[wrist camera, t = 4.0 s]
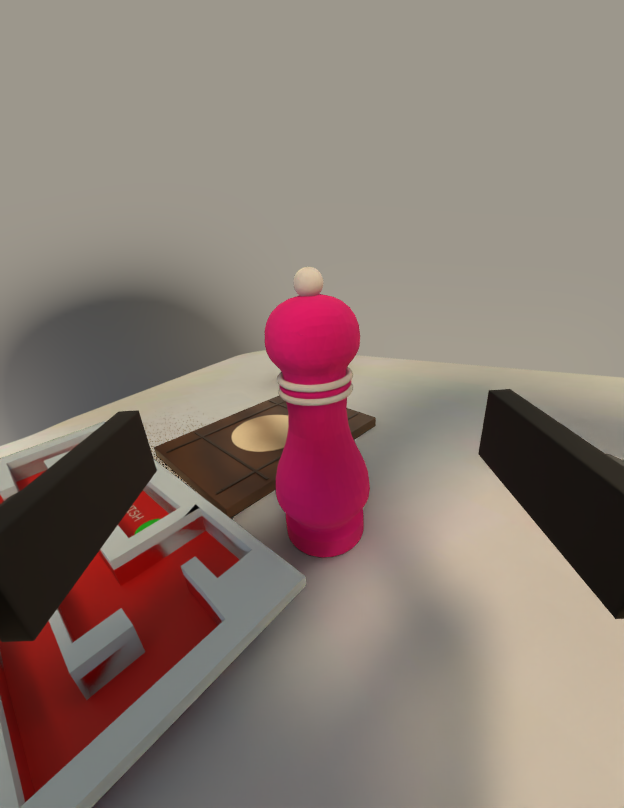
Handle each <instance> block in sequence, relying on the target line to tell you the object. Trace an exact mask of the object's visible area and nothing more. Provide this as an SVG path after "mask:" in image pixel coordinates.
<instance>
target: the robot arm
mask: <svg viewBox="0 0 624 808" xmlns="http://www.w3.org/2000/svg"><path fill="white" fill-rule="evenodd" d="M478 454H479V455H480V457H481V458H482V459H483V460H484V461H485V463H486V464H487V465H488V466H489V467H490V469H491V470H492V471H493V472H494V473H495V475H496V476H497V477H498V478H499V479H500V481H501V482H502V483H503V484H504V485H505V487H506V488H507V489H508V490H509V491H510V493H511V494H512V495H513V496H514V497H515V499H516V500H517V501H518V502H519V503H520V505H521V506H522V507H523V508H524V509H525V511H526V512H527V513H528V514H529V515H530V517H531V518H532V519H533V520H534V521H535V523H536V524H537V525H538V526H539V527H540V529H541V530H542V531H543V532H544V533H545V535H546V536H547V537H548V538H549V539H550V541H551V542H552V543H553V544H554V545H555V547H556V548H557V549H558V550H559V551H560V553H561V554H562V555H563V556H564V557H565V559H566V560H567V561H568V562H569V564H570V565H571V566H572V567H573V568H574V570H575V571H576V572H577V573H578V574H579V576H580V577H581V578H582V579H583V580H584V582H585V583H586V584H587V585H588V586H589V588H590V589H591V590H592V591H593V592H594V594H595V595H596V596H597V597H598V598H599V600H600V601H601V602H602V603H603V604H604V606H605V607H606V608H607V609H608V610H609V612H610V613H611V614H612V615H613V616H614V618H615V619H624V461H623V460H621V459H619V458H617V457H614V456H612V455H610V454H605V453H603V452H602V451H600V450H599V449H597V448H596V447H594V446H593V445H591V444H590V443H588V442H587V441H585V440H584V439H582V438H581V437H580V436H578V435H577V434H575V433H574V432H572V431H571V430H569V429H568V428H566V427H565V426H563V425H562V424H560V423H559V422H557V421H556V420H555V419H553V418H552V417H550V416H549V415H547V414H546V413H544V412H543V411H541V410H540V409H538V408H537V407H535V406H534V405H533V404H531V403H530V402H528V401H527V400H525V399H524V398H522V397H521V396H519V395H518V394H516V393H515V392H513V391H512V390H510V389H505V390H489V393H488V399H487V405H486V411H485V417H484V423H483V429H482V435H481V441H480V447H479V453H478ZM156 471H157V469H156V466H155V463H154V459H153V456H152V453H151V450H150V446H149V443H148V440H147V437H146V433H145V430H144V427H143V423H142V420H141V417H140V414H139V411H122V412H118V413H116V414H115V415H114V416H113V417H112V418H110V419H109V420H108V421H107V422H105V423H104V424H103V425H102V426H100V427H99V428H98V429H97V430H95V431H94V432H93V433H92V434H90V435H89V436H88V437H87V438H85V439H84V440H83V441H82V442H81V443H79V444H78V445H77V446H76V447H74V448H73V449H72V450H71V451H69V452H68V453H67V454H66V455H64V456H63V457H62V458H61V459H59V460H58V461H57V462H56V463H55V464H53V465H52V466H51V467H50V468H48V469H47V470H46V471H45V472H43V473H42V474H41V475H40V476H38V477H37V478H36V479H35V480H33V481H32V482H31V483H30V484H28V485H27V486H26V487H25V488H24V489H22V490H21V491H19V492H17V493H15V494H13V495H12V496H10V497H9V498H7V499H6V500H5V501H4V502H2V503H1V504H0V640H1V642H18V641H34V640H35V639H36V637H37V636H38V635H39V633H40V632H41V631H42V629H43V628H44V626H45V625H46V624H47V622H48V621H49V619H50V618H51V617H52V615H53V614H54V613H55V611H56V610H57V608H58V607H59V606H60V604H61V603H62V601H63V600H64V599H65V597H66V596H67V595H68V593H69V592H70V590H71V589H72V588H73V586H74V585H75V584H76V582H77V581H78V579H79V578H80V577H81V575H82V574H83V572H84V571H85V570H86V568H87V567H88V566H89V564H90V563H91V561H92V560H93V559H94V557H95V556H96V554H97V553H98V552H99V550H100V549H101V548H102V546H103V545H104V543H105V542H106V541H107V539H108V538H109V536H110V535H111V534H112V532H113V531H114V530H115V528H116V527H117V525H118V524H119V523H120V521H121V520H122V518H123V517H124V516H125V514H126V513H127V512H128V510H129V509H130V507H131V506H132V505H133V503H134V502H135V500H136V499H137V498H138V496H139V495H140V494H141V492H142V491H143V489H144V488H145V487H146V485H147V484H148V483H149V481H150V480H151V478H152V477H153V476H154V474H155V473H156Z"/></svg>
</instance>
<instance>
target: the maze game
mask: <svg viewBox="0 0 624 808" xmlns="http://www.w3.org/2000/svg"><path fill="white" fill-rule="evenodd" d="M104 423H105V421H104V422H101V423H99V424H96V425H93V426H90V427H87V428H84V429H82V430H79V431H76V432H73V433H70V434H67V435H65V436H62V437H59V438H56V439H53V440H50V441H48V442H45V443H42V444H39V445H36V446H33V447H31V448H28V449H25V450H22V451H19V452H17V453H14V454H11V455H8V456H5V457H2V458H0V504H1V503H2V502H4V501H5V500H6V499H7V498H9V497H10V496H12V495H13V494H15V493H17V492H19V491H21V490H22V489H24V488H25V487H26V486H27V485H28V484H30V483H31V482H32V481H33V480H35V479H36V478H37V477H38V476H40V475H41V474H42V473H43V472H45V471H46V470H47V469H48V468H50V467H51V466H52V465H53V464H55V463H56V462H57V461H58V460H59V459H61V458H62V457H63V456H64V455H66V454H67V453H68V452H69V451H71V450H72V449H73V448H74V447H76V446H77V445H78V444H79V443H81V442H82V441H83V440H84V439H85V438H87V437H88V436H89V435H90V434H92V433H93V432H94V431H95V430H97V429H98V428H99V427H100V426H102V425H103V424H104ZM154 463H155V466H156V469H157V471H156V473H155V474H154V476H153V477H152V478H151V480H150V481H149V483H148V484H147V485H146V487H145V488H144V489H143V491H142V492H141V494H140V495H139V496H138V498H137V499H136V500H135V502H134V503H133V505H132V506H131V507H130V509H129V510H128V512H127V513H126V514H125V516H124V517H123V518H122V520H121V521H120V523H119V524H118V525H117V527H116V528H115V530H114V531H113V532H112V534H111V535H110V536H109V538H108V539H107V541H106V542H105V543H104V545H103V546H102V548H101V549H100V550H99V552H98V553H97V554H96V556H95V557H94V559H93V560H92V561H91V563H90V564H89V566H88V567H87V568H86V570H85V571H84V572H83V574H82V575H81V577H80V578H79V579H78V581H77V582H76V584H75V585H74V586H73V588H72V589H71V590H70V592H69V593H68V595H67V596H66V597H65V599H64V600H63V601H62V603H61V604H60V606H59V607H58V608H57V610H56V611H55V613H54V614H53V615H52V617H51V618H50V619H49V621H48V622H47V624H46V625H45V626H44V628H43V629H42V631H41V632H40V633H39V635H38V636H37V637H36V639H35V640H34V641H18V642H1V640H0V808H92V807H93V806H94V805H95V804H96V802H97V801H98V800H99V799H100V798H101V797H102V796H103V795H104V794H105V793H106V792H107V791H108V790H109V789H110V788H111V787H112V786H113V785H114V784H115V783H116V782H117V781H118V780H119V779H120V778H121V777H122V776H123V775H124V774H125V773H126V771H127V770H128V769H129V768H130V767H131V766H132V765H133V764H134V763H135V762H136V761H137V760H138V759H139V758H140V757H141V756H142V755H143V754H144V753H145V752H146V751H147V750H148V749H149V748H150V747H151V746H152V745H153V744H154V743H155V741H156V740H157V739H158V738H159V737H160V736H161V735H162V734H163V733H164V732H165V731H166V730H167V729H168V728H169V727H170V726H171V725H172V724H173V723H174V722H175V721H176V720H177V719H178V718H179V717H180V716H181V715H182V714H183V713H184V711H185V710H186V709H187V708H188V707H189V706H190V705H191V704H192V703H193V702H194V701H195V700H196V699H197V698H198V697H199V696H200V695H201V694H202V693H203V692H204V691H205V690H206V689H207V688H208V687H209V686H210V685H211V684H212V683H213V681H214V680H215V679H216V678H217V677H218V676H219V675H220V674H221V673H222V672H223V671H224V670H225V669H226V668H227V667H228V666H229V665H230V664H231V663H232V662H233V661H234V660H235V659H236V658H237V657H238V656H239V655H240V654H241V653H242V651H243V650H244V649H245V648H246V647H247V646H248V645H249V644H250V643H251V642H252V641H253V640H254V639H255V638H256V637H257V636H258V635H259V634H260V633H261V632H262V631H263V630H264V629H265V628H266V627H267V626H268V625H269V624H270V623H271V621H272V620H273V619H274V618H275V617H276V616H277V615H278V614H279V613H280V612H281V611H282V610H283V609H284V608H285V607H286V606H287V605H288V604H289V603H290V602H291V601H292V600H293V599H294V598H295V597H296V596H297V595H298V594H299V593H300V591H301V590H302V589H303V588H304V587H305V586H306V578H305V575H303V574H302V573H301V572H299V571H298V570H297V569H295V568H294V567H293V566H292V565H290V564H289V563H288V562H286V561H285V560H284V559H282V558H281V557H280V556H279V555H277V554H276V553H275V552H273V551H272V550H271V549H269V548H268V547H267V546H266V545H264V544H263V543H262V542H260V541H259V540H258V539H257V538H255V537H254V536H253V535H251V534H250V533H249V532H247V531H246V530H245V529H244V528H242V527H241V526H240V525H238V524H237V523H236V522H234V521H233V520H232V519H231V518H229V517H228V516H227V515H225V514H224V513H223V512H221V511H220V510H219V509H218V508H216V507H215V506H214V505H212V504H211V503H210V502H208V501H207V500H206V499H205V498H203V497H202V496H201V495H199V494H198V493H197V492H195V491H194V490H193V489H192V488H190V487H189V486H188V485H186V484H185V483H184V482H182V481H181V480H180V479H179V478H177V477H176V476H175V475H173V474H172V473H171V472H169V471H168V470H167V469H166V468H164V467H163V466H162V465H160V464H159V463H158V462H157V461H155V460H154Z"/></svg>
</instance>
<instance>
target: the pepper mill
mask: <svg viewBox="0 0 624 808" xmlns="http://www.w3.org/2000/svg"><path fill="white" fill-rule="evenodd" d="M293 284H294V288H295V291H296V292H297V293H298V294H299V295H300V296H297V297H294V298H290V299H288V300H286V301H285V302H283V303H281V304H279V305H278V306H277V307H276V308H275V309H274V310H273V311H272V313H271V314H270V316H269V318H268V320H267V323H266V327H265V347H266V352H267V354H268V356H269V358H270V359H271V361H272V362H273V363H274V364H275V365H276V366H277V367H278V368H279V369H280V370H281V371H282V372H281V373H280V374H279V375H278V377H277V381H278V383H279V385H280V388H279V395H280V397H281V398H282V399H283V400H284V401H286V403H287V408H288V433H287V439H286V443H285V446H284V449H283V452H282V455H281V458H280V461H279V464H278V467H277V473H276V495H277V500H278V502H279V505H280V506H281V508H282V509H283V511H284V512H285V513H286V523H287V531H288V536H289V538H290V540H291V542H292V543H293V544H294V546H296V547H297V548H298V549H299V550H301V551H302V552H304V553H306V554H308V555H312V556H317V557H334V556H337V555H341V554H344V553H345V552H347V551H349V550H350V549H352V548H353V547H354V546H355V545H356V544H357V543H358V542H359V540H360V539H361V536H362V533H363V507H364V505H365V504H366V502H367V500H368V497H369V490H370V486H369V477H368V471H367V467H366V464H365V461H364V459H363V457H362V455H361V453H360V451H359V449H358V448H357V446H356V444H355V442H354V439H353V437H352V435H351V431H350V428H349V424H348V417H347V409H346V406H347V397H348V396H349V395H350V394H351V392H352V390H353V385H352V383H351V379H352V377H353V373H352V371H351V369H350V368H348V367H347V366H348V365H349V363H350V362H351V361H352V359H353V358H354V357H355V355H356V353H357V351H358V349H359V344H360V331H359V325H358V322H357V319H356V317H355V315H354V313H353V312H352V310H351V309H350V307H348V306H347V305H346V304H345V303H344V302H342V301H341V300H339V299H336V298H334V297H331V296H327V295H321V294H319V293H320V292H321V290H322V288H323V278H322V275H321V274H320V272H319V271H318V270H317V269H315V268H313V267H304V268H302V269H300V270H299V271H298V272H297V273H296V275H295V277H294V282H293Z"/></svg>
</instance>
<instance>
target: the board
mask: <svg viewBox="0 0 624 808" xmlns="http://www.w3.org/2000/svg"><path fill="white" fill-rule="evenodd" d="M346 409H347V417H348V424H349V428H350V431H351V435H352V437H353V439H355V438H357V437H358V436H360V435H361V434H363V433H365V432H366V431H368V430H369V429H371V428H372V427H374V426H375V422H376V418H375V417H372V416H369V415H366V414H363V413H360V412H357V411H354V410H351V409H348V408H346ZM287 433H288V408H287V403H286V401H284V400H283V399H282V398H281V397H280V395H279V396H277V397H274V398H272V399H270V400H267V401H265V402H262V403H260V404H258V405H255V406H253V407H250V408H248V409H246V410H243V411H241V412H238V413H236V414H233V415H231V416H229V417H226V418H224V419H221V420H219V421H217V422H214V423H212V424H209V425H207V426H205V427H202V428H200V429H197V430H195V431H192V432H190V433H188V434H185V435H183V436H180V437H178V438H176V439H173V440H171V441H168V442H166V443H164V444H161V445H159V446H156V447H154V449H155V453H156V456H157V457H159V458H160V459H161V460H162V461H163V462H164V463H165V464H166V465H168V466H169V467H170V468H171V469H172V470H173V471H174V472H175V473H176V474H178V475H179V476H180V477H181V478H182V479H183V480H184V481H185V482H187V483H188V484H189V485H190V486H191V487H192V488H193V489H194V490H195V491H197V492H198V493H199V494H200V495H201V496H202V497H203V498H205V499H206V500H207V501H208V502H210V503H211V504H212V505H214V506H215V507H216V508H218V509H219V510H220V511H221V512H223V513H224V514H225V515H227V516H228V517H229V518H231V517H233V516H234V515H236V514H238V513H239V512H241V511H242V510H244V509H245V508H247V507H249V506H250V505H252V504H253V503H255V502H256V501H258V500H260V499H261V498H263V497H264V496H266V495H267V494H269V493H271V492H272V491H274V490H275V489H276V473H277V467H278V464H279V461H280V458H281V455H282V452H283V449H284V446H285V443H286V439H287Z"/></svg>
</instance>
